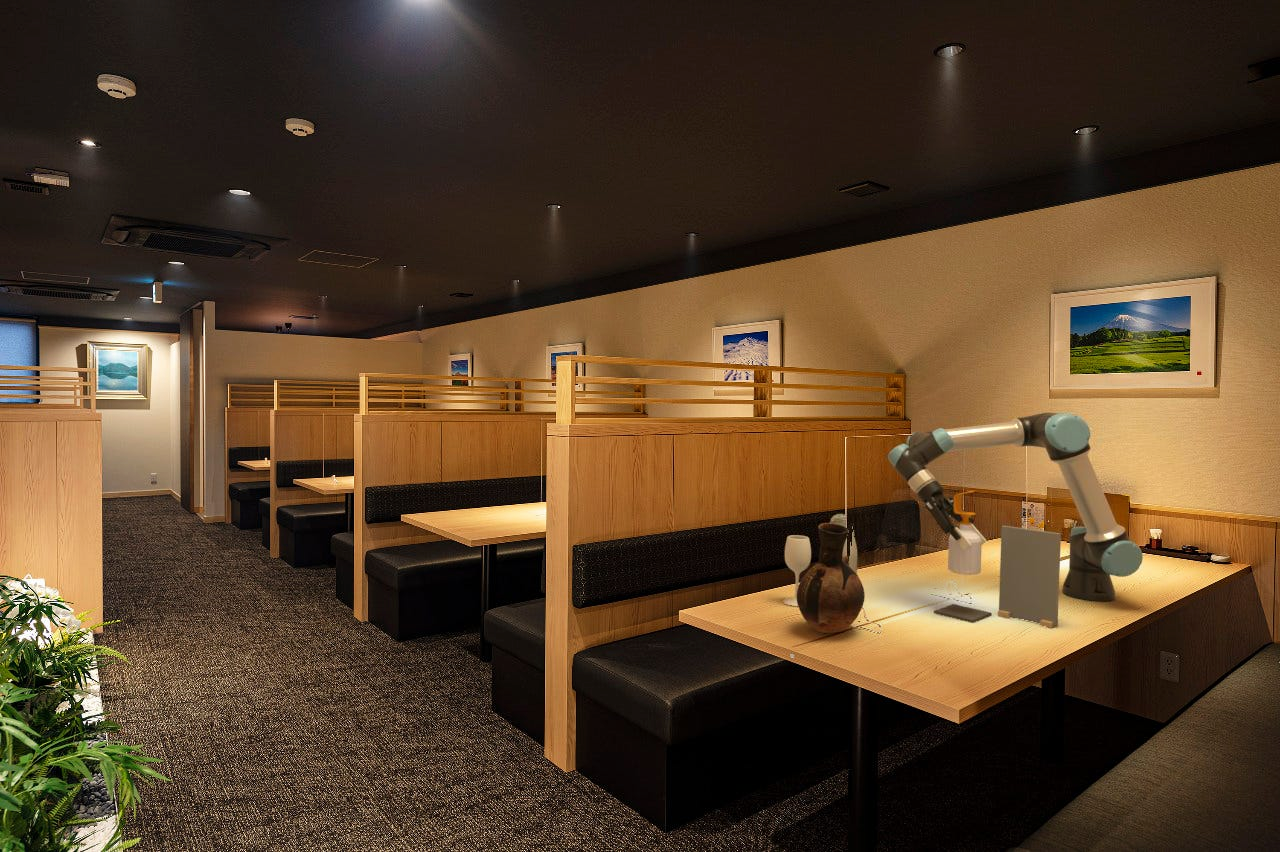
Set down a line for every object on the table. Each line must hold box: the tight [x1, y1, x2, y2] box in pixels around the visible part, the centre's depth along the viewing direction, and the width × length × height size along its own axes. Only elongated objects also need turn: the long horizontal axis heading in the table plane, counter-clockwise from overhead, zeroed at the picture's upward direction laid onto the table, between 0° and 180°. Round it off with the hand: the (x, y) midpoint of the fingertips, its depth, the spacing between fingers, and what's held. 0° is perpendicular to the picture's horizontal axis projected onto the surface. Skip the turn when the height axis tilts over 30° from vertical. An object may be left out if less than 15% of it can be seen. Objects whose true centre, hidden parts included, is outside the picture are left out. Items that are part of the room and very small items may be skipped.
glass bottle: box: [829, 513, 858, 575], centre depth 238 cm, size 10×10×28 cm
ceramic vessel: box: [797, 522, 865, 634], centre depth 207 cm, size 21×18×30 cm
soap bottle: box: [947, 490, 983, 576], centre depth 224 cm, size 9×9×25 cm
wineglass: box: [782, 534, 812, 607], centre depth 235 cm, size 9×9×21 cm
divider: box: [997, 525, 1062, 629], centre depth 219 cm, size 5×16×27 cm, turn 40°
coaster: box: [933, 603, 993, 624], centre depth 225 cm, size 12×12×1 cm
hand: (975, 545), depth 222 cm, fingers closed on soap bottle, 9 cm apart
